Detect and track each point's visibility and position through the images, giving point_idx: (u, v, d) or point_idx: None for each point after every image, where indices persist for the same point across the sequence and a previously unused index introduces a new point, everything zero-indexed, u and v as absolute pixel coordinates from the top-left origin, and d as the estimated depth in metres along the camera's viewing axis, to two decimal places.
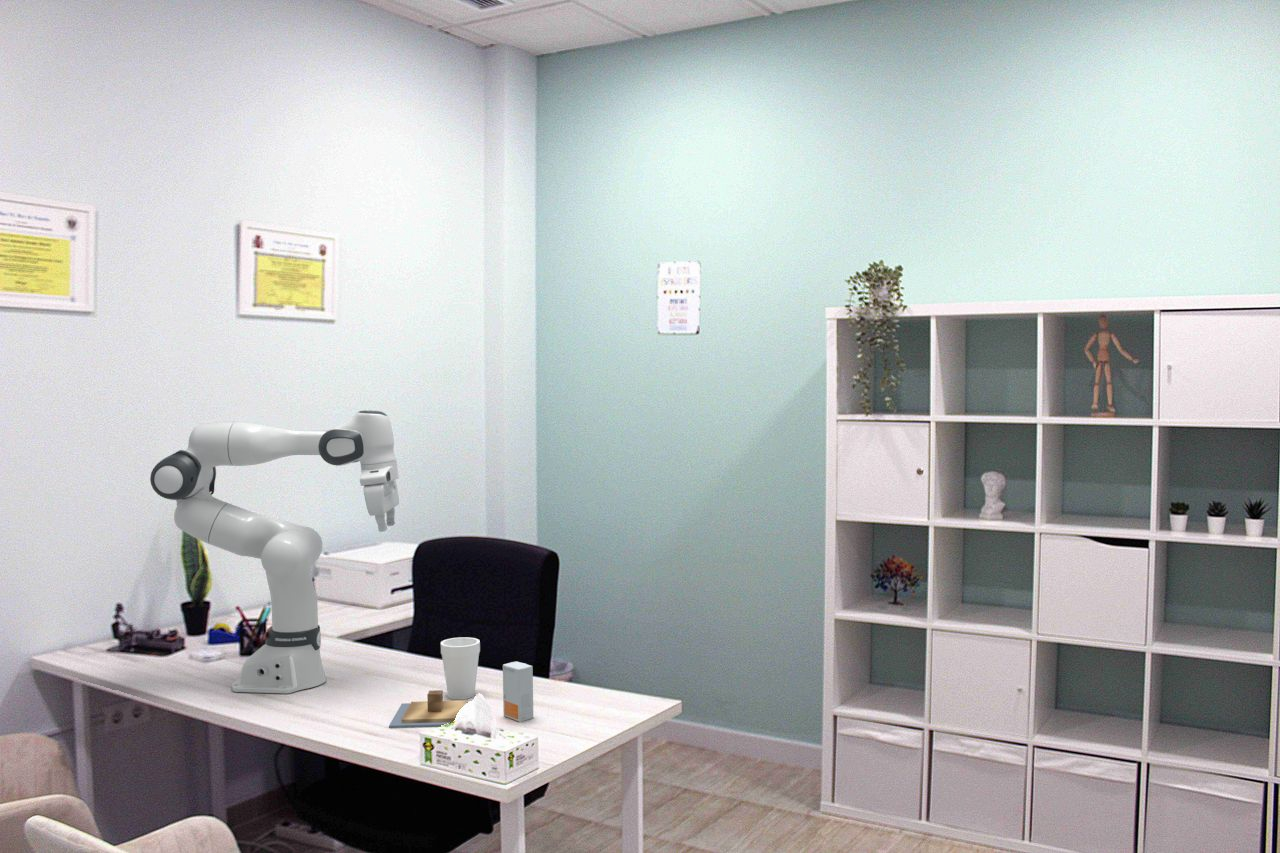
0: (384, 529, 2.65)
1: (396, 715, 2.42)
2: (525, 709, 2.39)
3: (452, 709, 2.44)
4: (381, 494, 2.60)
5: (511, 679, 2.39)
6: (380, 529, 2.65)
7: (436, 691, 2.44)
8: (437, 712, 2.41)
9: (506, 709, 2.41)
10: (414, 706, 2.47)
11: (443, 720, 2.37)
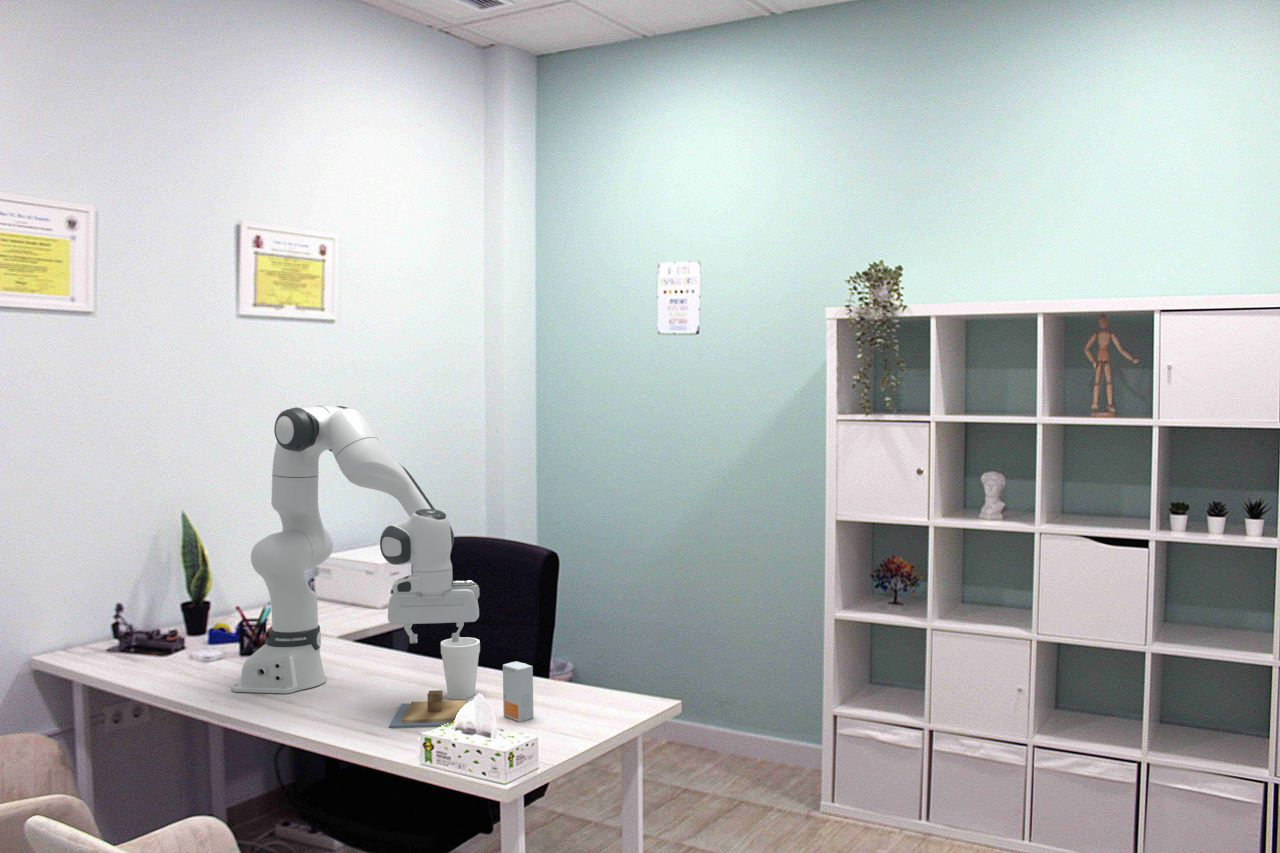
0: (410, 641, 2.42)
1: (396, 715, 2.42)
2: (525, 709, 2.39)
3: (452, 709, 2.44)
4: None
5: (511, 679, 2.39)
6: None
7: (436, 691, 2.44)
8: (437, 712, 2.41)
9: (506, 709, 2.41)
10: (414, 706, 2.47)
11: (443, 720, 2.37)
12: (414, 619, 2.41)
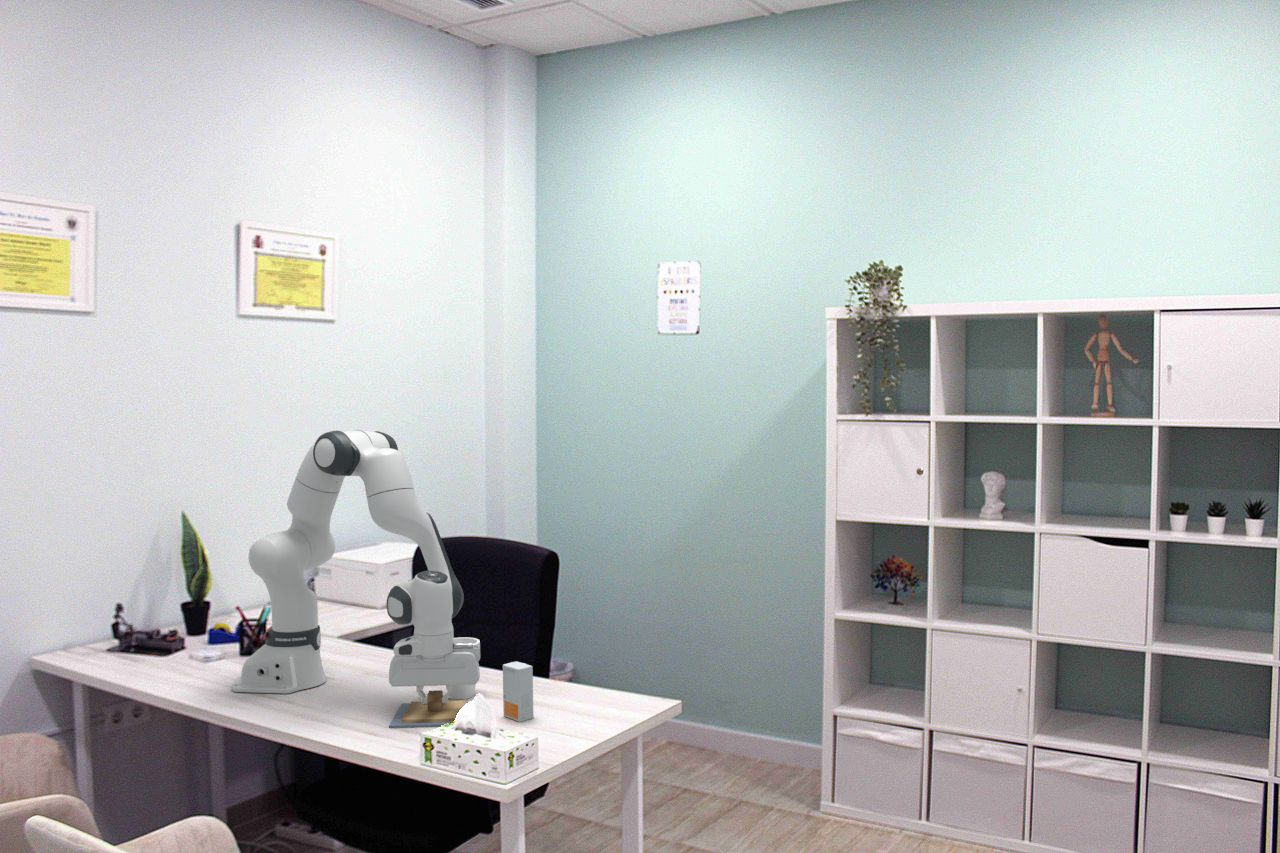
0: None
1: (396, 715, 2.42)
2: (525, 709, 2.39)
3: (452, 709, 2.44)
4: (390, 665, 2.41)
5: (511, 679, 2.39)
6: None
7: (436, 691, 2.44)
8: (437, 713, 2.41)
9: (506, 709, 2.41)
10: (414, 706, 2.47)
11: (443, 720, 2.37)
12: (415, 681, 2.41)
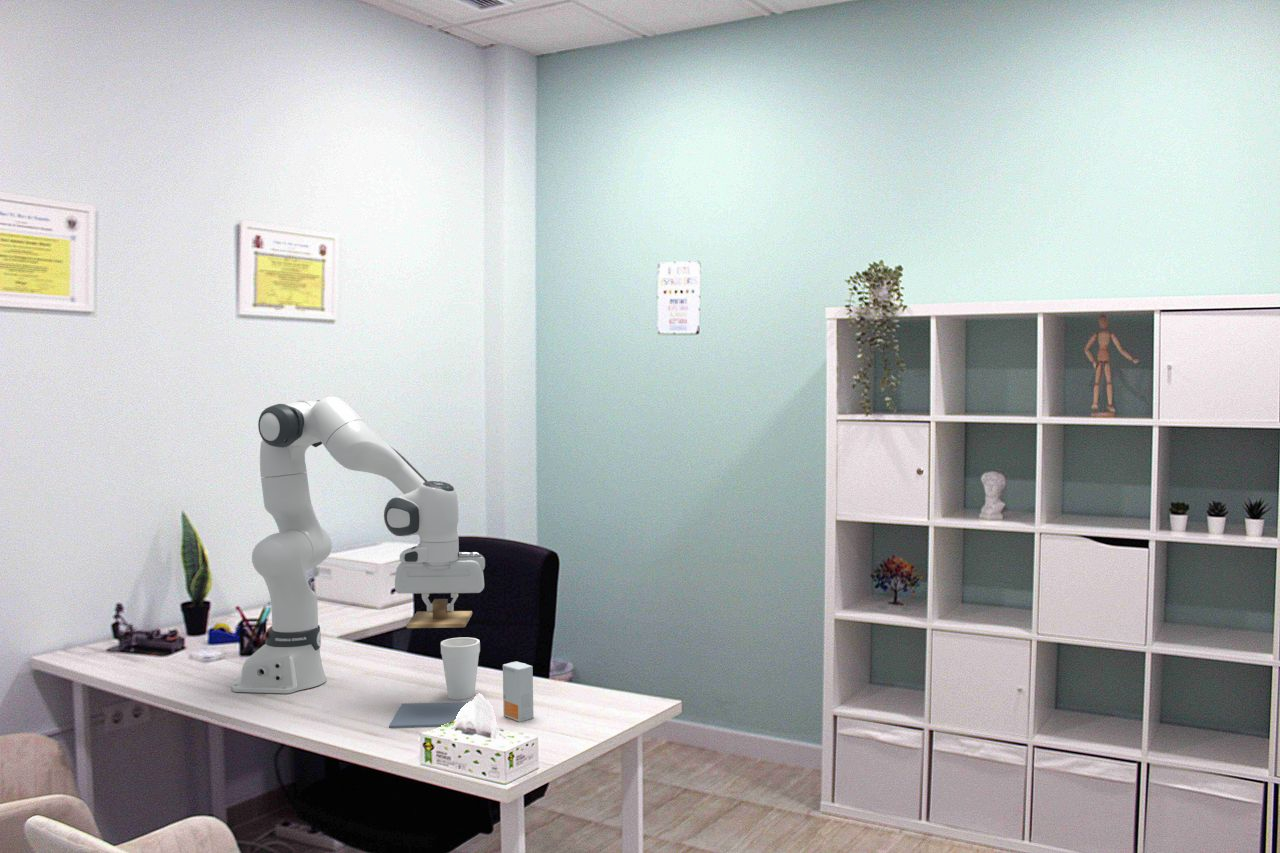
0: (427, 610, 2.46)
1: (396, 715, 2.42)
2: (525, 709, 2.39)
3: (457, 617, 2.47)
4: (396, 572, 2.44)
5: (511, 679, 2.39)
6: None
7: (441, 599, 2.48)
8: (441, 619, 2.45)
9: (506, 709, 2.41)
10: (419, 614, 2.50)
11: (447, 626, 2.41)
12: (420, 589, 2.45)
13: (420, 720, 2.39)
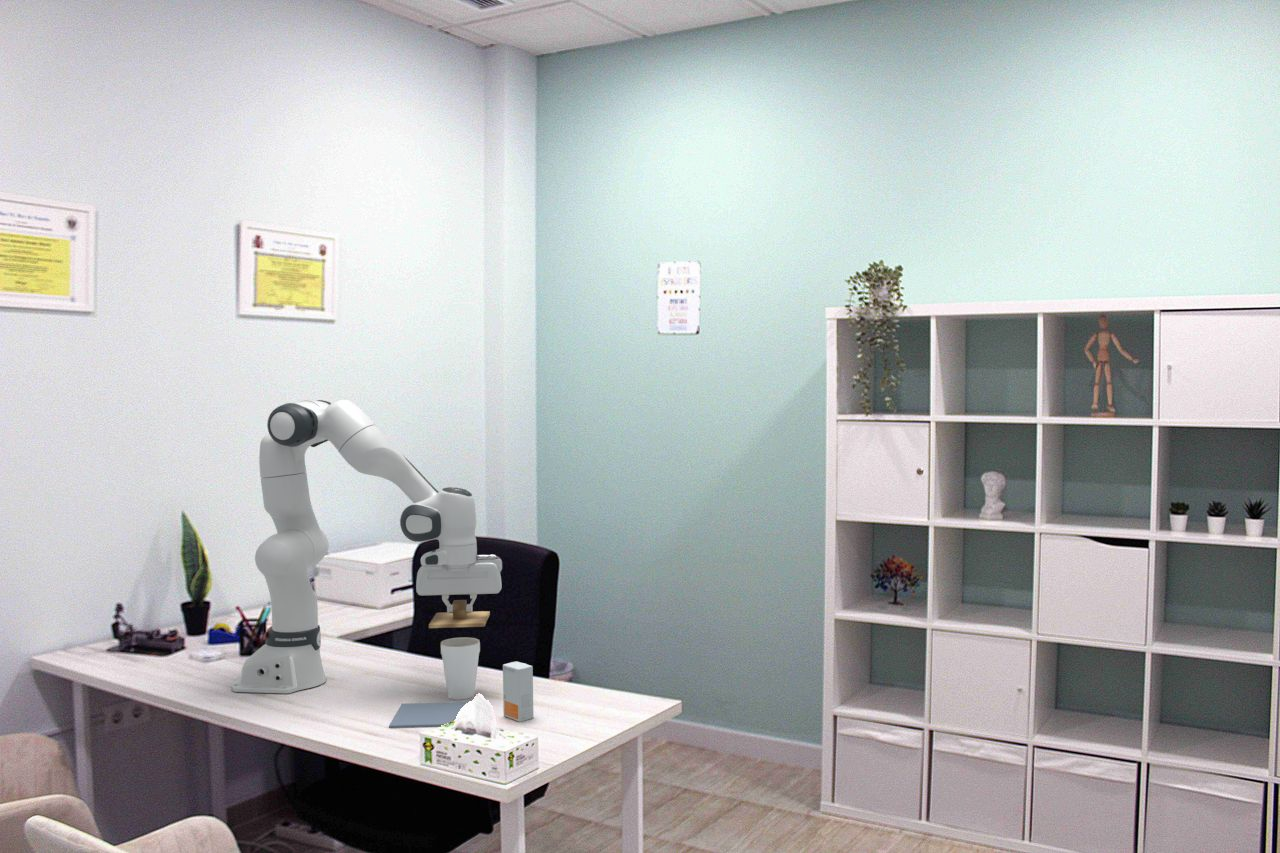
0: (447, 611, 2.57)
1: (396, 715, 2.42)
2: (525, 709, 2.39)
3: (476, 617, 2.58)
4: (417, 575, 2.55)
5: (511, 679, 2.39)
6: None
7: (460, 600, 2.58)
8: (461, 619, 2.56)
9: (506, 709, 2.41)
10: (439, 615, 2.61)
11: (468, 625, 2.52)
12: (441, 590, 2.56)
13: (420, 720, 2.39)
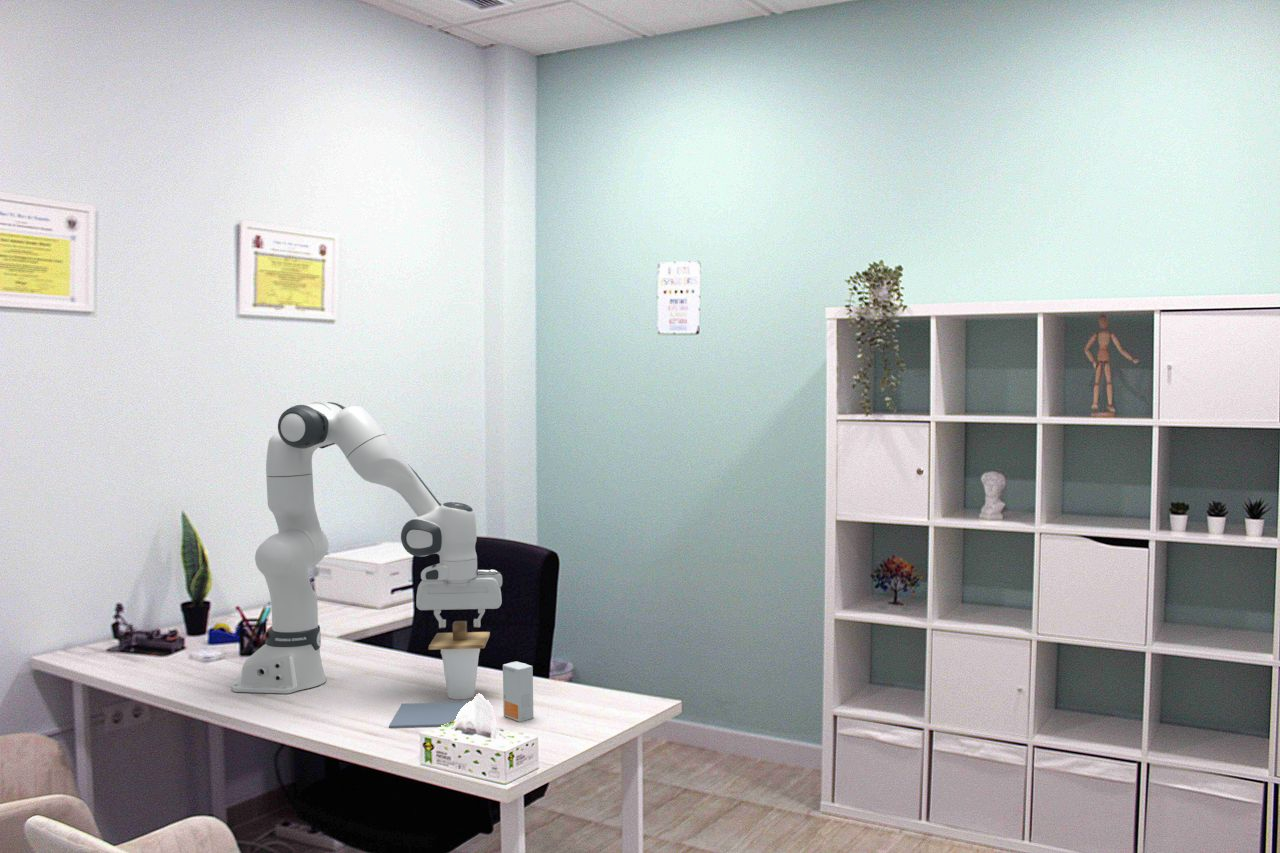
0: (439, 626, 2.57)
1: (396, 715, 2.42)
2: (525, 709, 2.39)
3: (476, 638, 2.58)
4: (417, 590, 2.55)
5: (511, 679, 2.39)
6: None
7: (460, 621, 2.59)
8: (461, 641, 2.56)
9: (506, 709, 2.41)
10: (440, 636, 2.61)
11: (468, 647, 2.52)
12: (441, 605, 2.56)
13: (420, 720, 2.39)
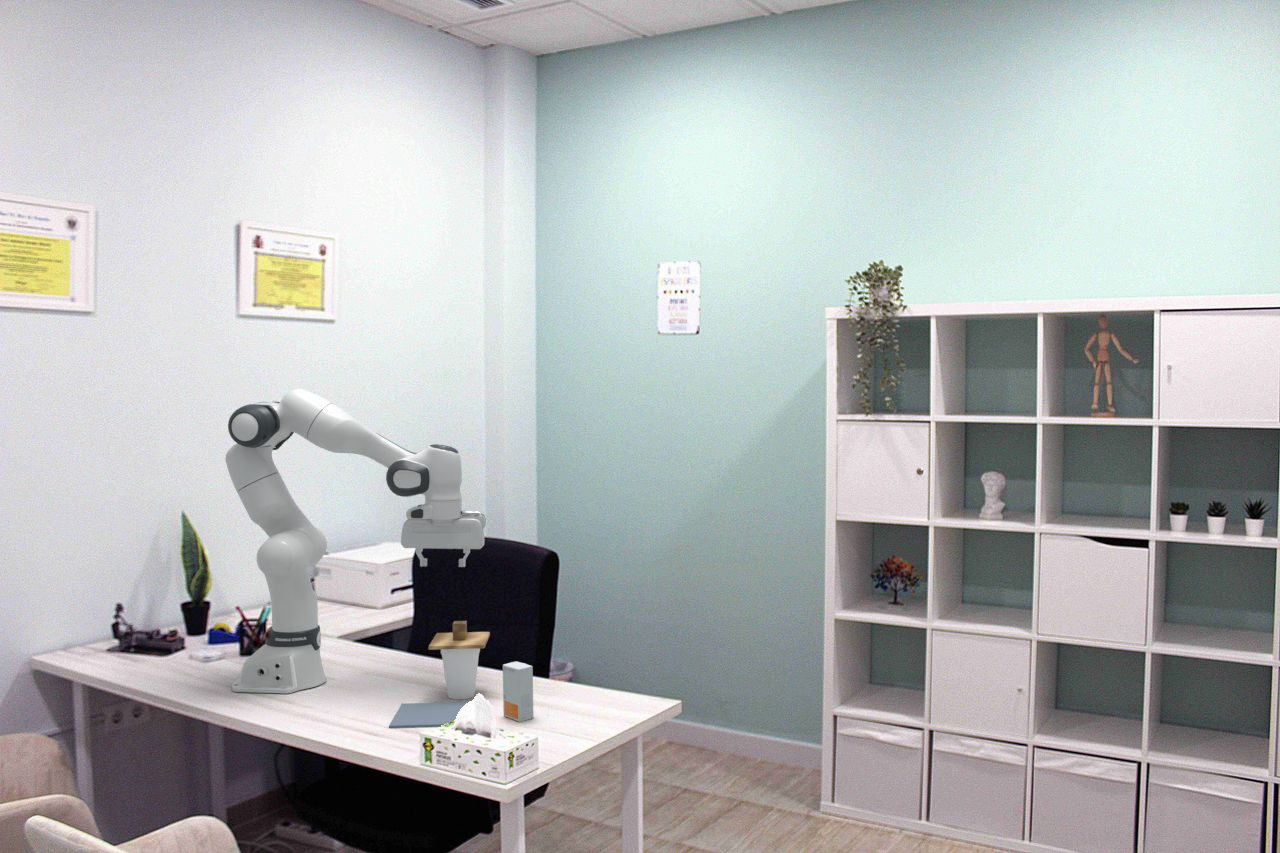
0: (420, 564, 2.64)
1: (396, 715, 2.42)
2: (525, 709, 2.39)
3: (476, 638, 2.58)
4: (402, 528, 2.62)
5: (511, 679, 2.39)
6: None
7: (460, 621, 2.59)
8: (461, 641, 2.56)
9: (506, 709, 2.41)
10: (439, 636, 2.61)
11: (468, 647, 2.52)
12: (425, 544, 2.63)
13: (420, 720, 2.39)
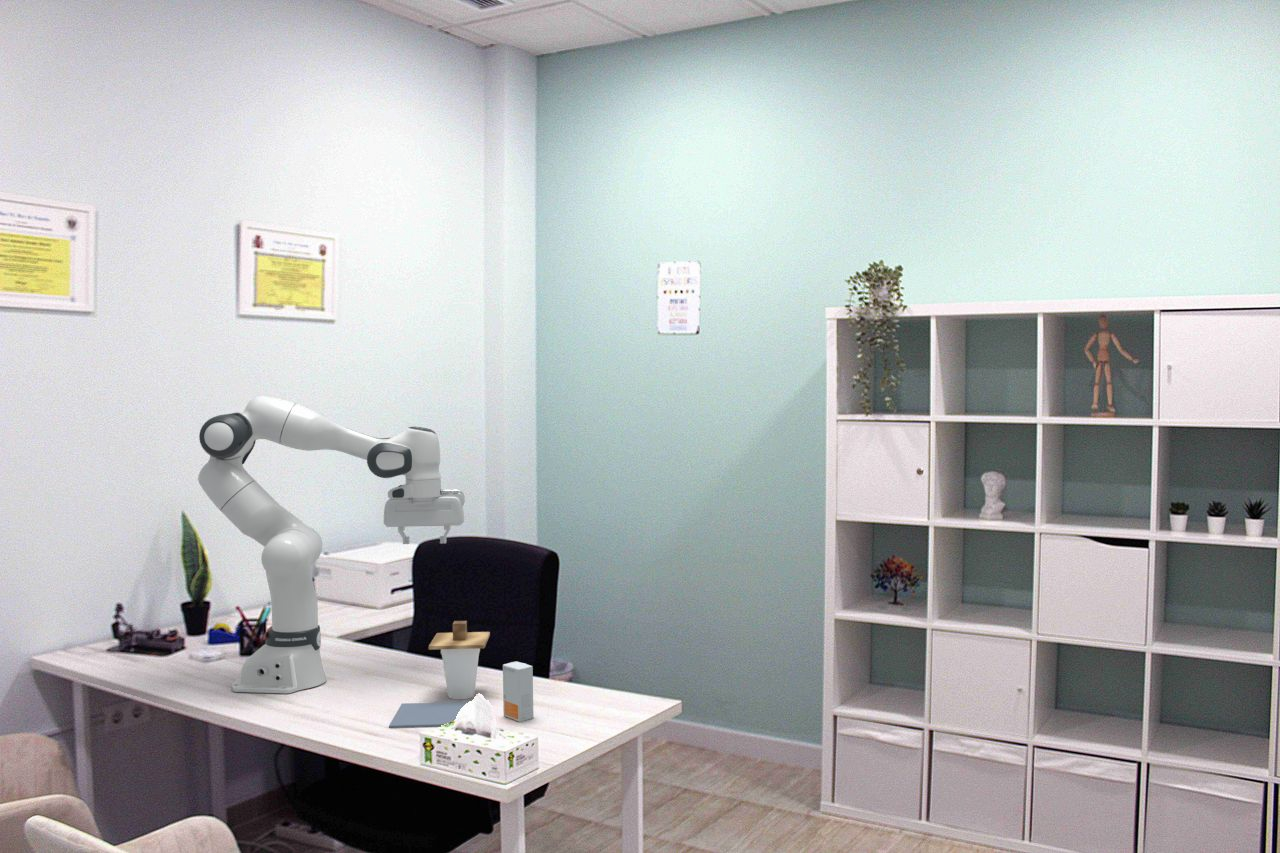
0: None
1: (396, 715, 2.42)
2: (525, 709, 2.39)
3: (476, 638, 2.58)
4: (384, 508, 2.73)
5: (511, 679, 2.39)
6: None
7: (460, 621, 2.59)
8: (461, 641, 2.56)
9: (506, 709, 2.41)
10: (439, 636, 2.61)
11: (468, 647, 2.52)
12: (407, 522, 2.74)
13: (420, 720, 2.39)
